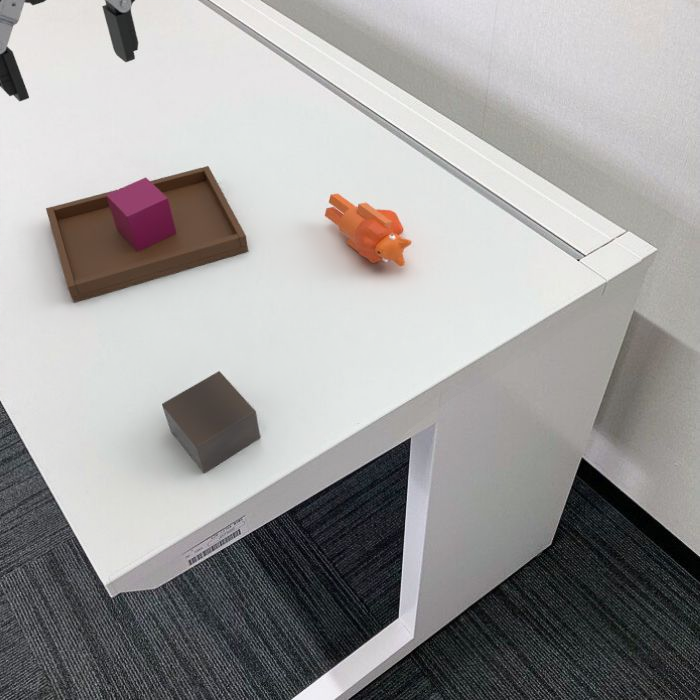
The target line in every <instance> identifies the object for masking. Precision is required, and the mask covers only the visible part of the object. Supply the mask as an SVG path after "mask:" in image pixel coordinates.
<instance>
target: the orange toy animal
mask: <svg viewBox="0 0 700 700" xmlns="http://www.w3.org/2000/svg"><path fill="white" fill-rule="evenodd" d="M328 203H329V204H330V205H331V207H326V209H325V213H324V217H326V219H328V220H330V222H332V223H333V224H335V225H336V226H337V227H338V229H339V232H340V233H341V234H342V235H344V236H345V237H346V238H348V239H347V242H346V244H347V245H348V246H349V247H351V248H352V249H353V250H354V251H356V252H357V253H358V255H360V256H362V257H363V258H364V259H366V260H368V261H369V262H370V263H371V264H375V263H380V261H381V260H382V261H383V263H388V262H389V261H393V262H394V263H395V264H396V265H397V266H399V267H404V266H405V264H406V261H405V257H404V251H405V249H406V248H408V247H409V246H410V245H412V240H411V239H407V238H403V237H402V236H400V235H402V234H403V233H404V226H403V224H402V223H401V221H400V218H399V217H398V215H397V213H396V212H395V211H393V210H391V209H381V208H379V209H375V207H373V206H371V205H370V204H368V203H367V202H363V203H358V205H357V206H356V205H354V204H353V203H352V202H350V201H349V200H348V199H346V198H345V197H343V196H342V195H341V194H339V193H331V194H330V195H329V199H328Z"/></svg>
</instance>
